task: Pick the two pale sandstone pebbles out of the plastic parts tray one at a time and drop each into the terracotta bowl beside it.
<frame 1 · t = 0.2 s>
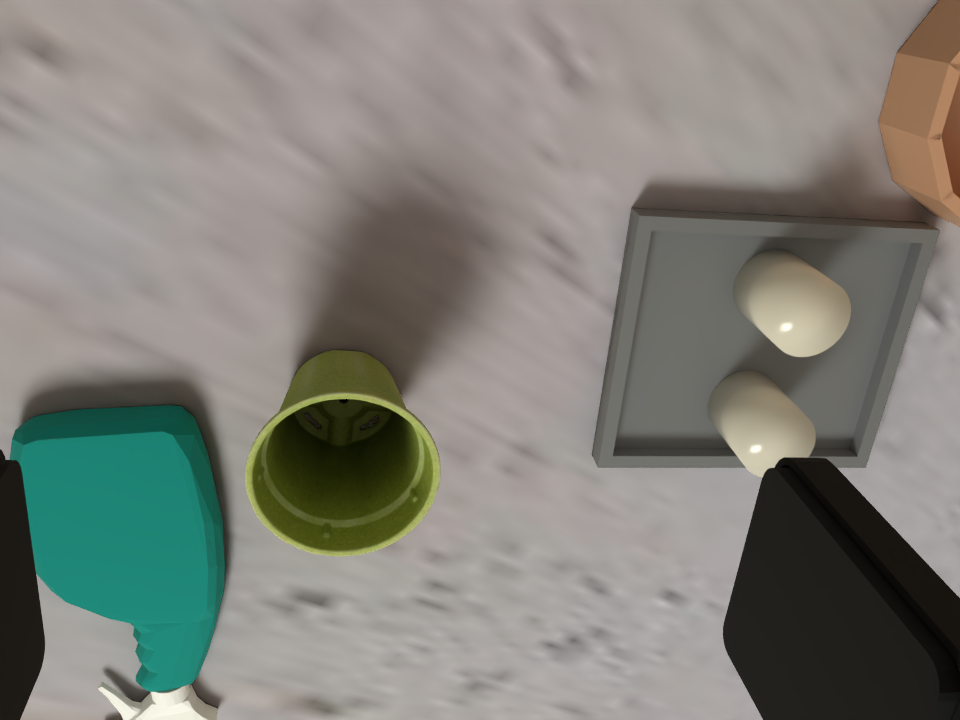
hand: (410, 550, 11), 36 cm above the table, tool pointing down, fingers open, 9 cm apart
plant pot: (344, 394, 51), on the table
pebble b: (742, 402, 54), resting on parts tray
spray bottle: (143, 576, 55), on the table
pebble a: (769, 285, 51), resting on parts tray
parts tray: (752, 342, 53), on the table
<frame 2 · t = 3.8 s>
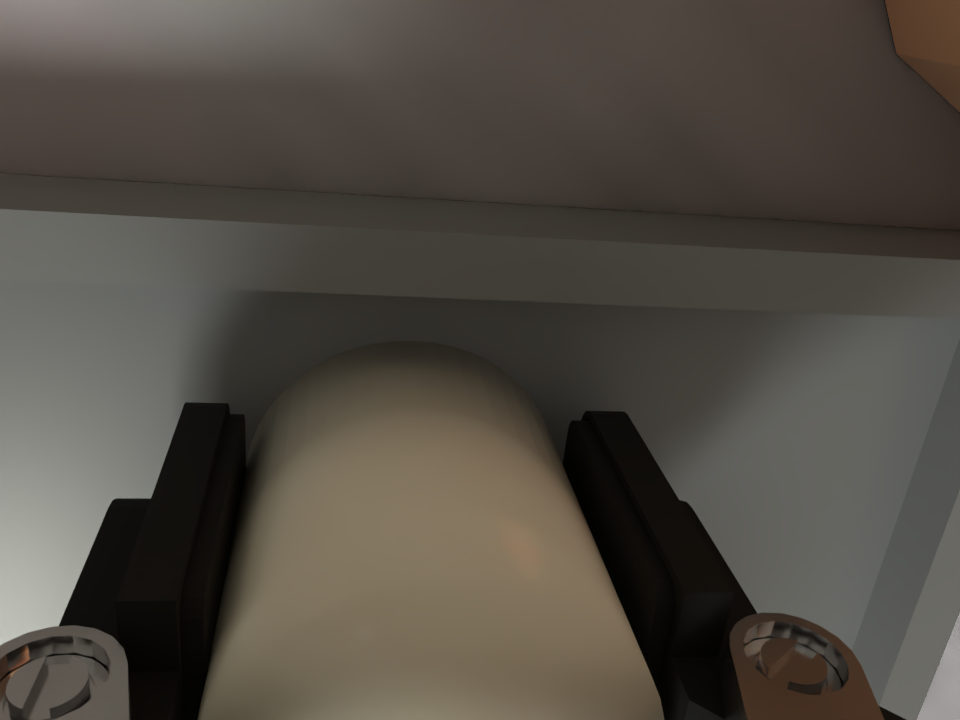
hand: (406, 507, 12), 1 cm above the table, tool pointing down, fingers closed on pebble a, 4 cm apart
pebble a: (403, 481, 13), resting on parts tray, touching gripper
parts tray: (387, 659, 15), on the table
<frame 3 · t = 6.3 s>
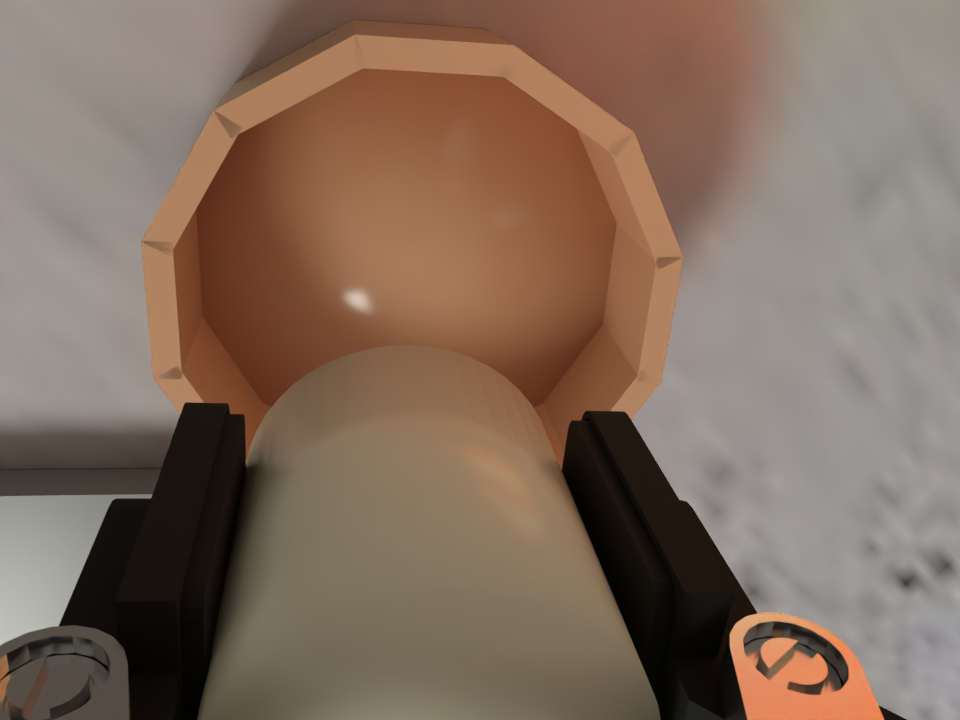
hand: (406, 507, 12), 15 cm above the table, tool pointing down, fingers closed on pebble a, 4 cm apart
bowl: (410, 261, 27), on the table
pebble a: (402, 484, 13), point 15 cm above the table, touching gripper
parts tray: (79, 659, 31), on the table
when the fingers open (4 cm above the table, at t = 8.9 s): pebble a drops 3 cm, resting on bowl.
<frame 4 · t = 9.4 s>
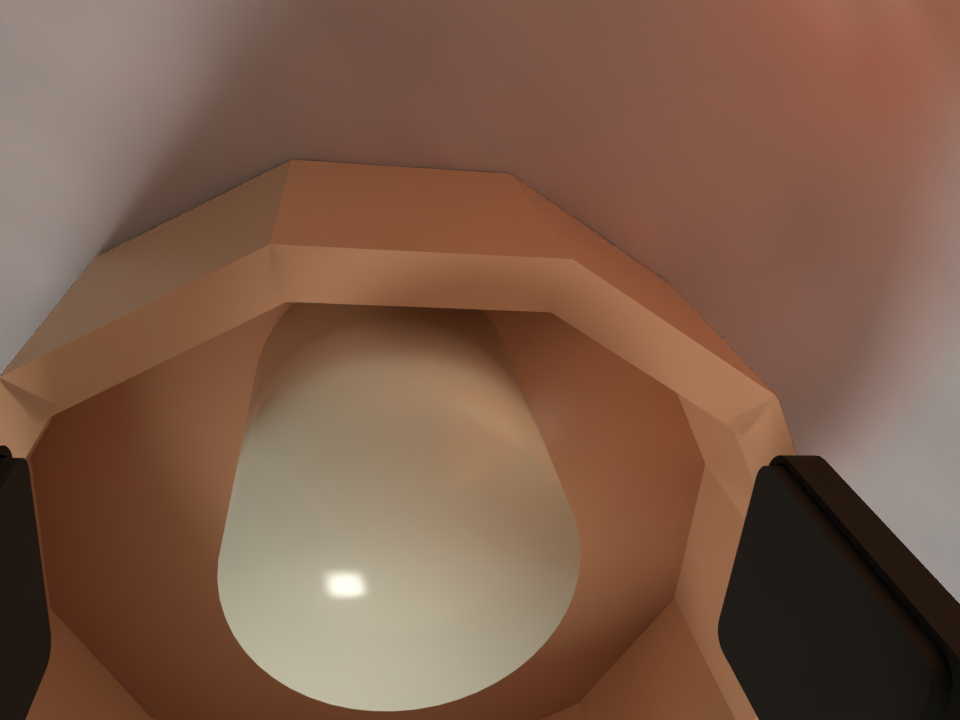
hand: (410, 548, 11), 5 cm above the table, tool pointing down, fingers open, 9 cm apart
bowl: (382, 509, 17), on the table
pebble a: (385, 391, 15), point 1 cm above the table, touching bowl
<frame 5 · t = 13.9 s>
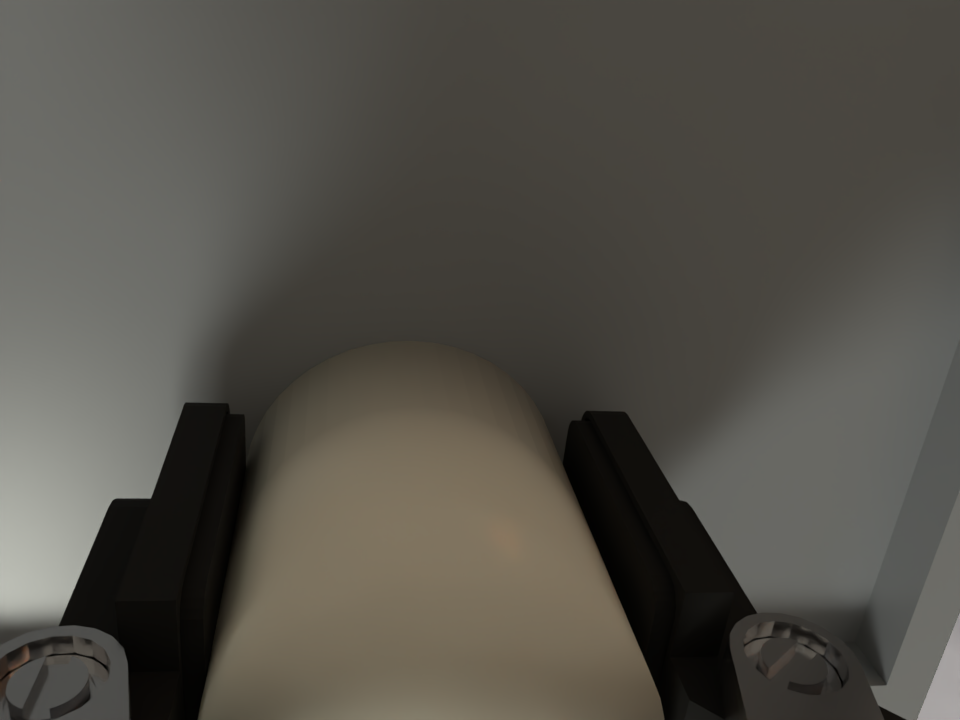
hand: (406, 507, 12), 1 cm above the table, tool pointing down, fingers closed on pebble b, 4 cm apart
pebble b: (403, 481, 13), resting on parts tray, touching gripper
parts tray: (418, 213, 12), on the table
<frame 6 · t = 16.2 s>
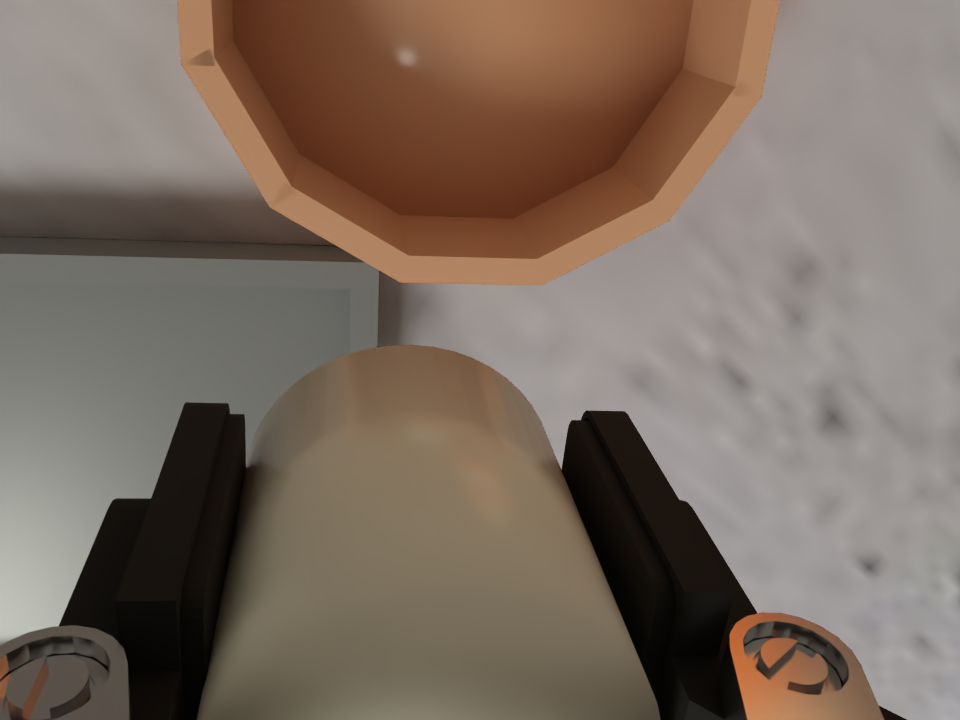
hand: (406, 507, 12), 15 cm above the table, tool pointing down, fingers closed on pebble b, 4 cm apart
pebble b: (401, 484, 13), point 15 cm above the table, touching gripper
parts tray: (92, 475, 28), on the table
when the fingers open (4 cm above the table, at t = 19.0 s): pebble b drops 3 cm, resting on bowl.
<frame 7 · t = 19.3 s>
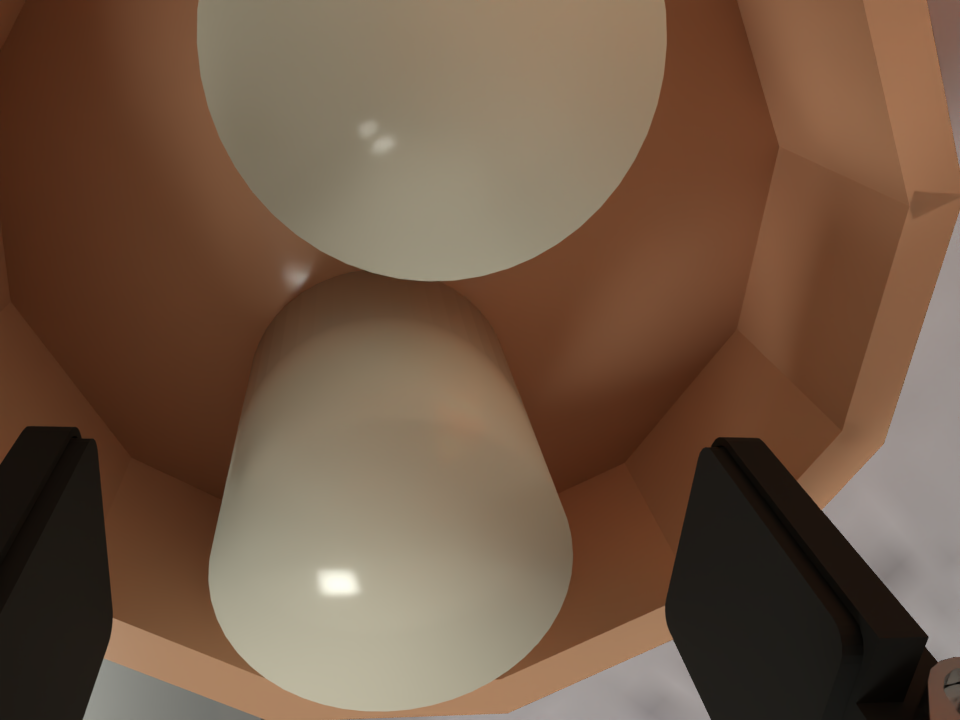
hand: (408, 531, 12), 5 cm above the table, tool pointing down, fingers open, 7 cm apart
pebble b: (381, 390, 15), point 1 cm above the table, touching bowl
bowl: (401, 208, 15), on the table
pebble a: (407, 21, 13), point 1 cm above the table, touching bowl
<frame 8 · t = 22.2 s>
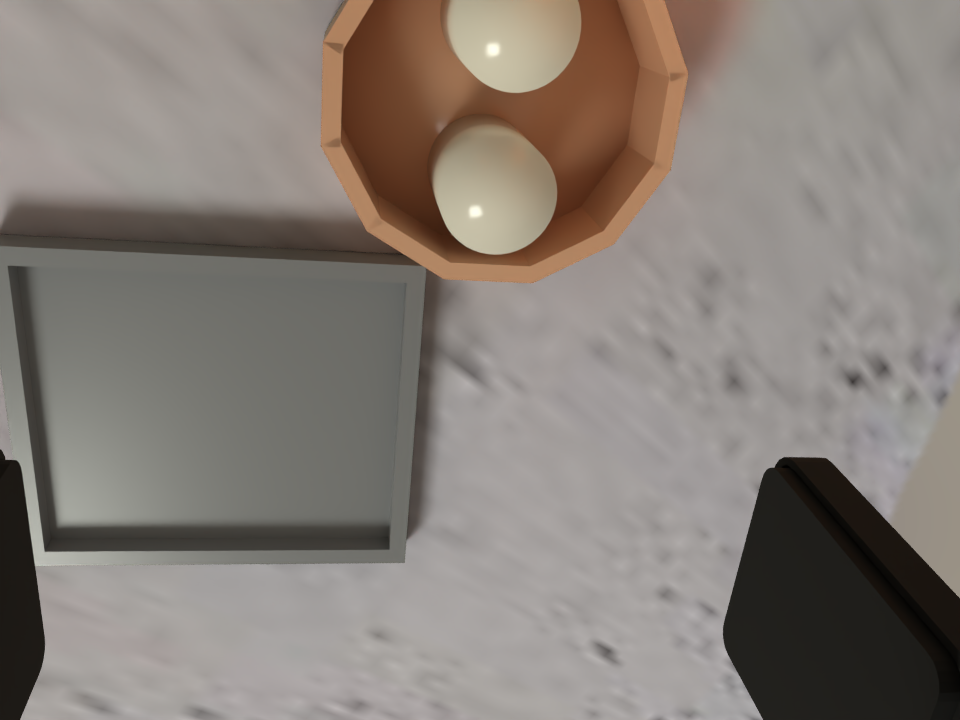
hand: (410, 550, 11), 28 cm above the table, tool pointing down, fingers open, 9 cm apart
pebble b: (479, 167, 37), point 1 cm above the table, touching bowl
bowl: (488, 91, 37), on the table
pebble a: (496, 15, 35), point 1 cm above the table, touching bowl
parts tray: (222, 407, 41), on the table
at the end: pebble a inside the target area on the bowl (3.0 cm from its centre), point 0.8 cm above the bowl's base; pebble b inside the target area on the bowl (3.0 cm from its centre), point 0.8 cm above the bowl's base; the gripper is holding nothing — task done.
